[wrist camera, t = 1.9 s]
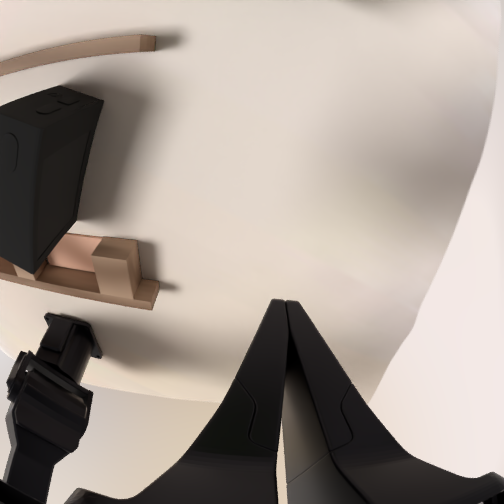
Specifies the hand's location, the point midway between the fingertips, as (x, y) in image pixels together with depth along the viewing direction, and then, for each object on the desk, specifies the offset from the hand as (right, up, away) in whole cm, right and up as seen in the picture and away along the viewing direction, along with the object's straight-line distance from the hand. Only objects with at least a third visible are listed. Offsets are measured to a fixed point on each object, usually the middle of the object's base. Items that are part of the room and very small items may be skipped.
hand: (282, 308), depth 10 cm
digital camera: (-15, +9, +9) cm, 20 cm away
